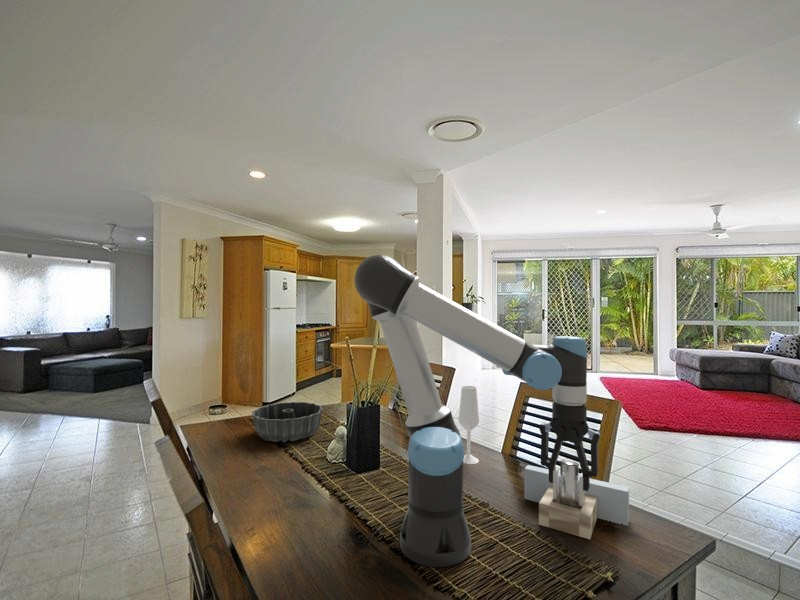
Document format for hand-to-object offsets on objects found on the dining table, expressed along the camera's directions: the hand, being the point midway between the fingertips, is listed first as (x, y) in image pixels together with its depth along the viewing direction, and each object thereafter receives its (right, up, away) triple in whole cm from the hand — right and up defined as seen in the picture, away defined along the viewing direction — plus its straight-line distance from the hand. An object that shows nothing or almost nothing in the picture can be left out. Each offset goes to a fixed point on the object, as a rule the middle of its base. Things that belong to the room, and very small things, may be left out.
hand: (568, 499), depth 98 cm
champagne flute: (-17, -5, +38) cm, 42 cm away
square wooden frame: (0, -5, 0) cm, 5 cm away
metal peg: (0, -5, 0) cm, 5 cm away
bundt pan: (-83, -5, +61) cm, 103 cm away
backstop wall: (+4, -5, +6) cm, 9 cm away
